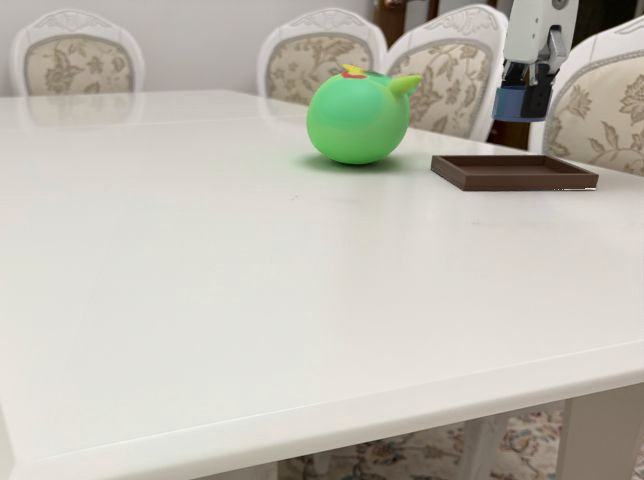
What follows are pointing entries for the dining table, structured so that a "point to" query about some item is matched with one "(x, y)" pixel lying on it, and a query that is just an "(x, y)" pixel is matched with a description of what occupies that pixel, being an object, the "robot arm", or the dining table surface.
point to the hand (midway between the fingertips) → (519, 112)
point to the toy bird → (360, 115)
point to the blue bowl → (512, 104)
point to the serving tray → (512, 172)
